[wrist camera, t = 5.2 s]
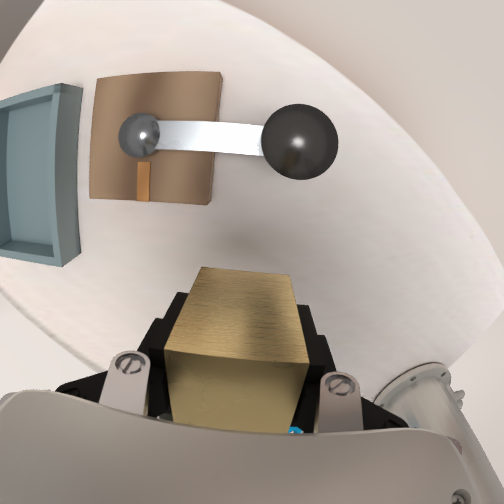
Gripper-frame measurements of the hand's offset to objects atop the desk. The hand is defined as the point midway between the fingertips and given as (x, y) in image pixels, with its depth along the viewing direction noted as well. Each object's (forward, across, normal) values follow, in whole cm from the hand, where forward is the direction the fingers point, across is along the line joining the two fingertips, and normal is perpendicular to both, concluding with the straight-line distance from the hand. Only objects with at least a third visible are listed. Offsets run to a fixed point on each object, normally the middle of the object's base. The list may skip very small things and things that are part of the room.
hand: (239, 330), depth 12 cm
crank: (+10, +3, -8) cm, 13 cm away
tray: (+12, +21, -5) cm, 25 cm away
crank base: (+12, +8, -8) cm, 17 cm away
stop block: (+2, 0, 0) cm, 2 cm away
